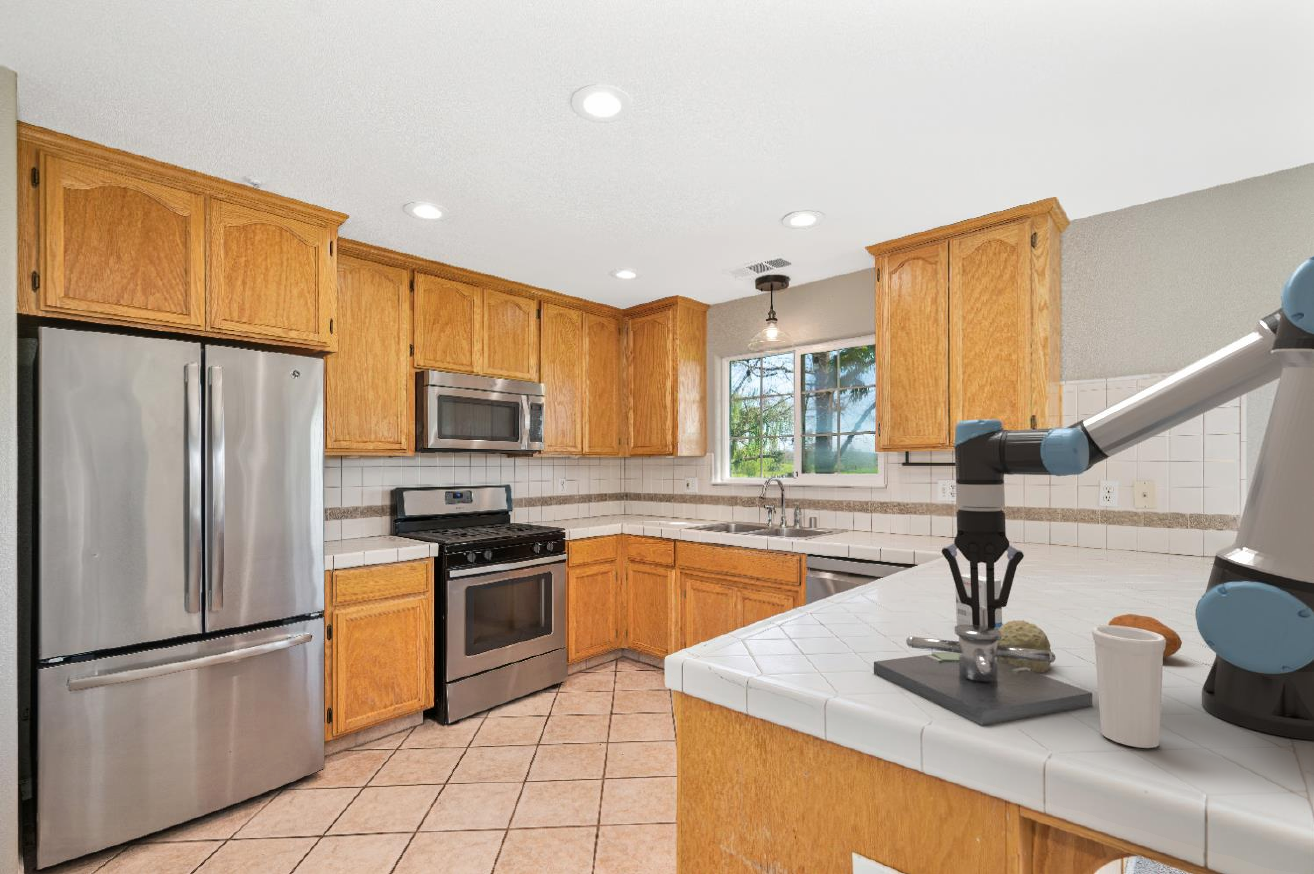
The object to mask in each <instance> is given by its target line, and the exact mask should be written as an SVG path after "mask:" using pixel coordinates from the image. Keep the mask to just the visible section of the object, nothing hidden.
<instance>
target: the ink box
mask: <svg viewBox="0 0 1314 874" xmlns="http://www.w3.org/2000/svg"><path fill="white" fill-rule="evenodd" d="M961 576H962V580H963V583H964V586H965V590H966V593H967V596H969V597H971V577H970V573H965V574H963V573H962V574H961ZM978 581H979V603H980V606H981V607H987V590H986V576H982V575H979V574H978ZM994 584H995V599H998V598H999V595H1000V592H1001V588H1002V581H1001V579H996V578H994ZM954 587H955V608H956V609H955V610H956V611H955V612H956V626H958V625H973V624H972V608H971V607H970V606H969V605H966V604H963V603H961V601H960V599H959V595H958V592H957V589H956V585H955V584H954ZM1002 624H1003V607H1000V608H997V609H996V610H995V628H994V629H997V630H999V628H1000V627H1001V626H1002Z"/></svg>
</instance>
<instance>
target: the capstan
mask: <svg viewBox="0 0 1314 874" xmlns="http://www.w3.org/2000/svg"><path fill="white" fill-rule="evenodd" d="M954 634H955V635H957V636H958V641H957V640H947V639H939V638H937V639H936V638H927V637H918V636H909V637H906V640H905V642H906V645H907V646H908V647H909V648H912V649H920V650H929V651H930V650H931V651H936V652H955V653H959V674H960V675H962V676H963V677H966V678H969V679H972V680H978V681H995V680H997V679H998V665H997V657H1000V658H1010V659H1019V660H1028V661H1037V662H1046V663H1050V664H1052V663H1054V662H1055V661H1056V654H1054V652H1052V650H1051V651H1045V650H1035V649H1026V648H1016V647H1007V646H997V640H1000V639H1001V631H999V630H997V629H994V628H991V627H986V626H980V625H958V626H957V625H956V626H954Z"/></svg>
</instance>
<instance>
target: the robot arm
mask: <svg viewBox="0 0 1314 874" xmlns="http://www.w3.org/2000/svg"><path fill="white" fill-rule="evenodd" d="M1280 301H1281V305H1280V306H1281V307H1280V308H1278V309H1277V310H1275V311H1274V312H1272V313H1270V314H1268V315H1266V316H1264V317H1262V318H1261V319H1258V320H1257V323H1256V325H1255V328H1254V330H1253V331H1251V332H1249V333H1247V334H1246V335H1243V336H1242V337H1239V338H1238V339H1236V340H1233V341H1231V342H1230V343H1228V344H1226V345H1224V346H1222V347H1219V348H1218V349H1216V350H1214V351H1213V352H1211V353H1207V355H1205V356H1203V357H1201V358H1199V359H1196V360H1195V361H1193V362H1192V363H1189V364H1187V365H1186V366H1184V367H1182V368H1180V369H1177V370H1176V371H1174V372H1172V373H1170V374H1168V375H1166V376H1164V377H1162V378H1160V379H1158V380H1156V381H1155V382H1153V383H1151V384H1148V385H1147V386H1145V387H1143V388H1141V389H1139V390H1137V391H1135V392H1133V393H1131V394H1129V395H1127V396H1125V397H1123V398H1121V399H1120V400H1117V401H1115V402H1114V403H1112V404H1109V405H1108V406H1106V407H1104V408H1102V409H1100V410H1099V411H1096V412H1095V413H1092V414H1090V415H1089V416H1086V417H1085V418H1083V419H1082V420H1079V421H1078V422H1074V423H1073V424H1071V425H1069V426H1067V427H1058V426H1057V427H1053V428H1034V429H1022V430H1021V429H1020V430H1019V429H1017V430H1011V429H1009V430H1008V429H1004V427H1003V422H1002V421H1001V420H1000V419H995V418H994V419H989V418H987V419H986V418H985V419H984V418H983V419H968V420H961V421H958V422H957V423H956V425H955V429H954V444H953V448H954V461H955V465H954V466H955V503H956V506H957V507H958V508H960V509H957V511H956V536H955V537H954V540H953V541H954V542H953V543H951V544H949V545H948V546H943V547H942V548H941V549H942V550H941V554H942V556H943V557H944V558H945V560H946V561H947V562H948V565H949V569H950V572H951V575H952V578H953V581H954V582H953V583H954V586H955V585H956V587H955V590H956V589H957V592H958V595H959V599H960V601H961V603H963V604H966V605H969V606H970V607H971V608H972V624H973V625H980V626H986V627H991V628H995V610H996V609H997V608H1000V607H1002V608H1006V607H1007V605H1008V601H1009V598H1010V595H1011V594H1010V593H1011V590H1012V586H1013V583H1014V579H1015V575H1016V571H1017V567H1018V565H1019V564H1020V563H1021V561H1022V560H1023V559H1024V557H1025V555H1024V552H1023V551H1022V550H1020V549H1016V548H1015V547H1014V546H1012V545H1011V544H1010V541H1009V539H1008V537H1007V535H1006V531H1007V529H1006V528H1007V527H1006V512H1004V510H1002V509H1003V508H1004V507H1005V506H1006V503H1005V500H1006V499H1005V498H1006V497H1005V475H1008V476H1010V475H1011V476H1012V475H1023V476H1024V475H1026V476H1031V475H1032V476H1056V477H1064V476H1065V477H1066V476H1076V475H1077V476H1078V475H1081V474H1083V473H1085V472H1087V471H1089V470H1090V469H1091V468H1093V466H1094V465H1097V464H1098V463H1100V462H1103V461H1105V460H1106V459H1108V458H1110V457H1112V456H1115V455H1117V454H1119V453H1121V452H1123V451H1125V450H1128V449H1130V448H1132V447H1134V446H1135V445H1138V444H1141V443H1143V442H1145V441H1147V440H1149V439H1151V438H1153V437H1156V436H1158V435H1159V434H1162V433H1164V432H1166V431H1168V430H1171V429H1172V428H1174V427H1177V426H1179V425H1181V424H1183V423H1185V422H1187V421H1190V420H1193V419H1194V418H1197V417H1199V416H1201V415H1203V414H1205V413H1207V412H1210V411H1211V410H1214V409H1215V408H1218V407H1220V406H1223V405H1224V404H1226V403H1229V402H1231V401H1234V400H1235V399H1237V398H1239V397H1242V396H1244V395H1245V394H1248V393H1251V392H1252V391H1254V390H1257V389H1259V388H1261V387H1263V386H1265V385H1268V384H1270V383H1272V382H1274V381H1276V380H1278V384H1277V387H1276V391H1275V395H1274V400H1273V403H1272V406H1271V410H1270V414H1269V416H1268V421H1267V425H1266V428H1265V433H1264V435H1263V439H1262V442H1261V446H1260V450H1259V453H1258V457H1257V461H1256V464H1255V468H1254V472H1253V475H1252V479H1251V483H1250V487H1249V490H1248V493H1247V498H1246V501H1245V504H1244V508H1243V510H1242V511H1243V512H1242V516H1241V518H1240V522H1239V526H1238V530H1237V533H1236V537H1235V541H1234V543H1233V544H1232V545H1229V546H1227V547H1225V548H1222V549H1220V550H1217V551H1216V553H1215V556H1214V560H1213V563H1212V568H1211V572H1210V574H1209V579H1208V583H1207V586H1206V589H1205V592H1204V593H1203V595H1201V598H1200V599H1199V600H1198V602H1197V604H1196V606H1195V607H1196V608H1195V621H1196V626H1197V630H1198V633H1199V635H1200V636H1201V638H1202V640H1203V641H1204V642H1205V645H1207V646H1208V648H1209V649H1210V650H1212V652H1214V653H1215V658H1214V661H1213V663H1212V666H1211V668H1210V670H1209V672H1208V674H1207V677H1206V680H1205V682H1204V684H1203V686H1202V689H1201V706H1202V708H1203V709H1204V710H1205V711H1207V712H1208V713H1210V714H1211V715H1213V716H1215V717H1217V718H1219V719H1221V720H1224V721H1226V722H1229V723H1232V724H1235V725H1237V726H1241V727H1243V728H1244V727H1245V728H1248V729H1250V730H1254V731H1259V732H1263V733H1266V734H1271V735H1275V736H1281V737H1285V738H1286V737H1287V738H1293V739H1299V740H1308V741H1314V255H1312V256H1310V257H1309V258H1307V259H1305V260H1304V261H1303V262H1302V263H1301V264H1299V265H1298V266H1297V267H1296V269H1294V270H1293V271H1292V273H1291V274H1290V275H1289V277H1288V279H1287V280H1286V281H1285V283H1284V284H1283V288H1282V291H1281V294H1280ZM957 549H958V551H960V554H962V556H963V557H964V558H965V559H966V560H967V561H968V562H969V569H970V570H969V572H970V573H969V574H970V577H971V597H969V596H967V593H966V590H965V586H964V583H963V580H962V576H961V571H960V568H959V567H960V566H959V564H958V563H959V562H958V561H957V558H956V557H957V555H958V552H957ZM1005 552H1007V554H1006V558H1007V559H1008V562H1007V565H1006V568H1005V573H1004V577H1003V581H1002V583H1001V592H1000V595H999V598H998V599H995V584H994V579H995V563H997V562H998V561H999V560H1000V559H1001V557H1002V556H1003V555H1004V554H1005ZM981 563H984V564H985V577H986V590H987V607H981V606H980V603H979V581H978V575H979V564H981Z"/></svg>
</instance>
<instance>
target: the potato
mask: <svg viewBox="0 0 1314 874" xmlns="http://www.w3.org/2000/svg"><path fill="white" fill-rule="evenodd" d="M1108 625H1113V626H1125V627H1132V628H1138V629H1143V630H1147V631H1151V632H1155V633H1157V634H1160V635H1162V636H1163V637H1164V638H1165V640H1166V646H1165V650H1164V652H1163V659H1166V658H1168V657H1171V656H1173V655H1174V654H1176V653H1177V652H1179V650H1180V649H1181V648H1182V643H1183V642H1182V639H1181V636H1179V634H1178V633H1177V631H1175V630H1174V629H1172V628H1170V627H1168V626H1167V625H1165V624H1164V623H1162V622H1161V621H1159V620H1158V619H1156V618H1154V617H1151V616H1145V615H1139V614H1133V613H1132V614H1131V613H1130V614H1129V613H1128V614H1122V615H1118V616H1115V617H1113V618H1111V620H1110V621H1109V622H1108Z"/></svg>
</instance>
